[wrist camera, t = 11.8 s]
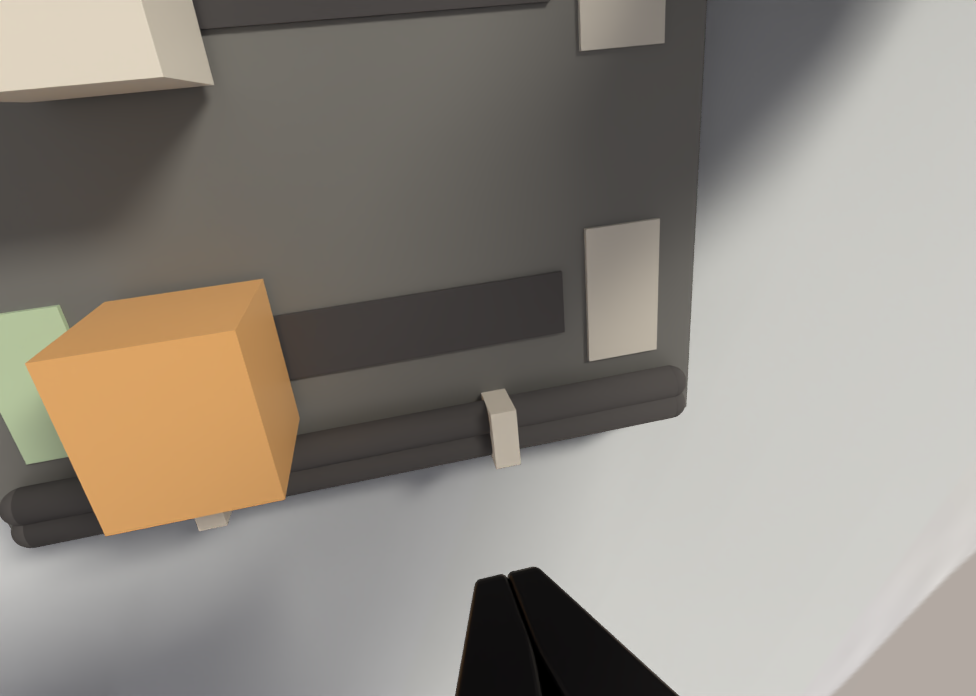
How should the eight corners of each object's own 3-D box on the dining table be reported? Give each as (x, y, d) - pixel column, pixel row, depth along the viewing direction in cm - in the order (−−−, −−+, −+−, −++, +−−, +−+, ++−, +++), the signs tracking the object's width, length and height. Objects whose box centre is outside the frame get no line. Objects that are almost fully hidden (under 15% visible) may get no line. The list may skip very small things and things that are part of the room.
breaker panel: (677, -215, 15) (723, -261, 13) (659, 382, 23) (688, 408, 21) (-299, -195, 12) (-426, -254, 10) (49, 500, 19) (15, 545, 17)
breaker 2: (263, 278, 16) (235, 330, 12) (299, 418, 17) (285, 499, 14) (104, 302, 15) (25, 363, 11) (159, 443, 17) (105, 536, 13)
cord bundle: (676, 356, 20) (700, 374, 19) (674, 406, 21) (697, 427, 19) (4, 481, 17) (-27, 514, 15) (32, 535, 17) (5, 571, 16)
